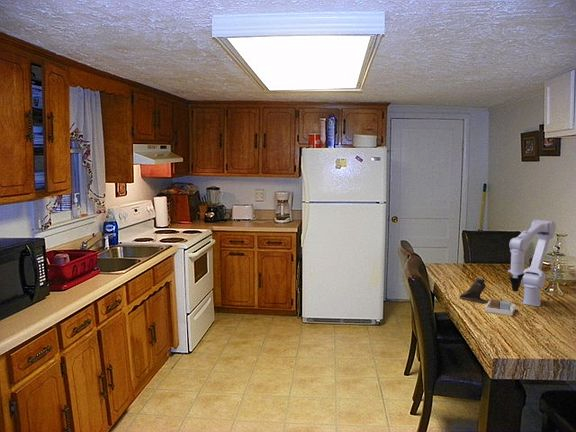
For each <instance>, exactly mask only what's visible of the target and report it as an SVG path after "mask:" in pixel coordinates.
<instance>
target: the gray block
mask: <svg viewBox="0 0 576 432" xmlns="http://www.w3.org/2000/svg"><path fill="white" fill-rule="evenodd" d="M511 304H512V303H511V301H505V300H500V309H502V310H508V311H510V305H511Z"/></svg>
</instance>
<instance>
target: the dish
mask: <svg viewBox="0 0 576 432" xmlns="http://www.w3.org/2000/svg"><path fill="white" fill-rule="evenodd" d="M490 301H491V300H488V302H487V303H486V305H485V307H484V313H487V314H493V315H500V316H506V317H513V315H514V313H515V310H516V304H513V303H511V305H510V311H508V310H502V309H495V308H490Z"/></svg>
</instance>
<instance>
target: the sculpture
mask: <svg viewBox="0 0 576 432" xmlns="http://www.w3.org/2000/svg"><path fill="white" fill-rule="evenodd" d="M485 282H486V280H485V279H484V277H477V278H476V280H475V281H474V282H473V283H472V285H471V286H470V288H469V289H467V290H466V291H465V292H463V293H462V294H460V295H459V300H463V301H468V302H473V303H478V304H481V305H483V304H487V303H486V300H485V299H483V298H481V295H482V293H483V291H484V290H485V288H486V283H485Z"/></svg>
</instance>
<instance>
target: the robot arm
mask: <svg viewBox="0 0 576 432" xmlns="http://www.w3.org/2000/svg"><path fill="white" fill-rule="evenodd" d="M556 230H557V227H556V222H555V221H554V220H543V219H533V220H532V222H531V225H530V227H529V228H528V230H523V231H522V232H521V233H519V235H518V236H516V237H513V238H511V239H510V240H509V244H508V245H509V252H510V254H511V255H510V269H508V270H507V272H508V273H510V274H511V275H509V276H508V279H509V281H510V284H511V289H512V292H518V291H519V288H520V286H521V284H522V286H523V287H524V290H523V292H524V293H523V301H522V305H526V306H534V307H540V306H541V303H542V301H541V288H543V287H544V286H545V283H546V274H545V272H544V271H543V270H542V267H543V263H544V261H545V257H546V254H547V252H548V251H547V250H548V248H549V244H550V240H551V239H554V236H555V233H556ZM534 237H536V238H537V239H538V240H537V243H536V245H535V251H534V253H533V258H532V260H531V264H530V266H529V267H527V268H525V265H524V264H525V251H527V248H528V246H529V244H530V243H531V242H532V241H533V240H534ZM524 268H525V269H524Z"/></svg>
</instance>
